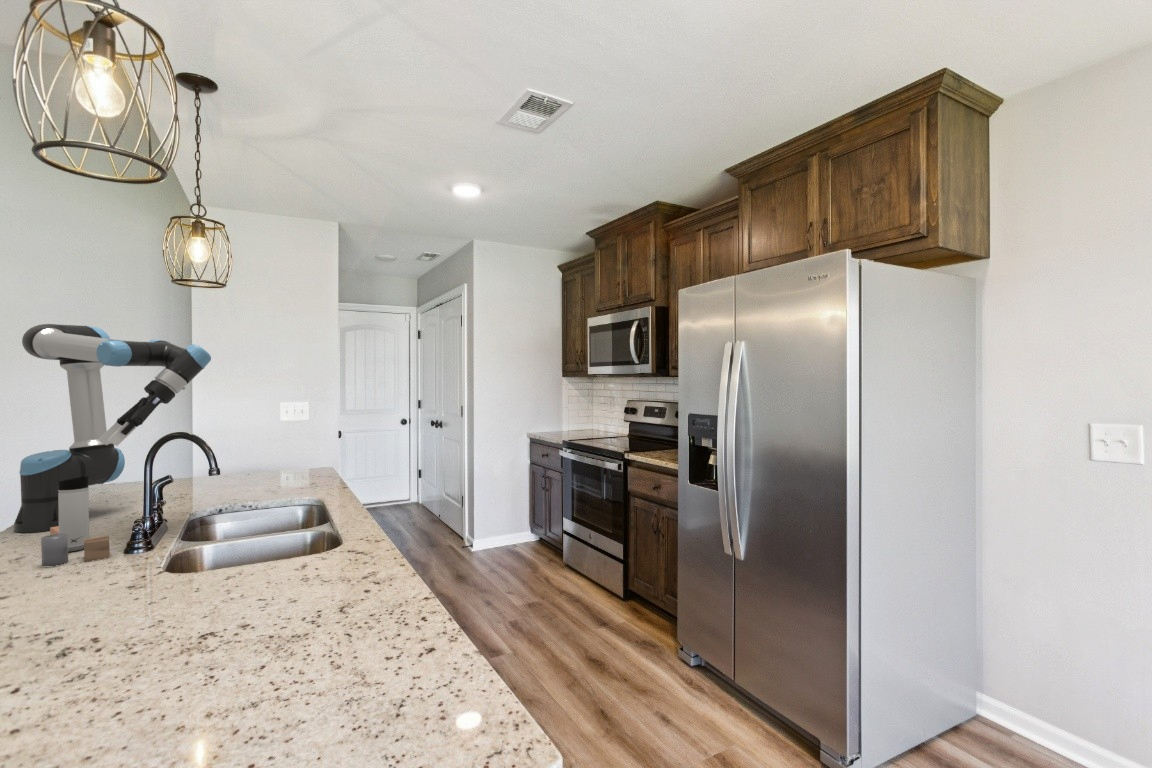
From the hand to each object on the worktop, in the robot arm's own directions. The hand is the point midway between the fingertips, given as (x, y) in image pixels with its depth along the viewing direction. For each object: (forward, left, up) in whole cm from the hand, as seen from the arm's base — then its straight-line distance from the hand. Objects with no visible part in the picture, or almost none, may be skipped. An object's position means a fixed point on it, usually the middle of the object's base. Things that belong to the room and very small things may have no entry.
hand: (107, 443), depth 162 cm
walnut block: (+15, +3, -29) cm, 33 cm away
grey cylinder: (+17, -5, -29) cm, 34 cm away
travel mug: (+5, -6, -29) cm, 30 cm away
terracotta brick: (-6, -13, -29) cm, 32 cm away
